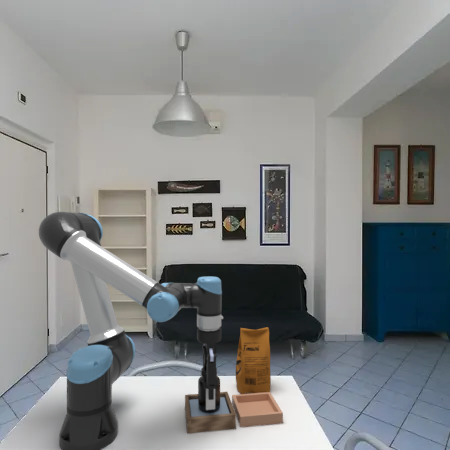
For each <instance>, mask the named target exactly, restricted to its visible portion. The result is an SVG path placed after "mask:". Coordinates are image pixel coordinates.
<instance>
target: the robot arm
mask: <svg viewBox="0 0 450 450" xmlns="http://www.w3.org/2000/svg"><path fill="white" fill-rule="evenodd" d="M103 233H104V232H103V227H102V224H101V222H100V221H99V220H98V219H97V218H96V217H95V216H93V215H90V214H88V213H84V212H70V211H68V212H66V211H55V212H53V213H49V215H46V217H44V218H43V220H42V221H41V222H40V224H39V228H38V237H39V240H40V242H41V243H42V245H43V246H44V247H45V248H46V249H47V250H48V251H50V252H51V253H52V254H54V255H55V256H56V257H58V258H60V259H61V260H64V261H68V262H70V265H71V268H72V272H73V275H74V279H75V283H76V287H77V290H78V293H79V294H78V295H79V297H80V302H81V305H82V308H83V312H84V315H85V320H86V323H87V327H88V331H89V334H90V336H89V338H88V340H87V341H86V344H87V346H86V347H81V348H79V349H77V350H76V351H74V352H73V353H72V354H70V356H69V358H68V360H67V366H66V367H67V368H66V372H65V373H66V414H65V417H64V420H63V422H62V425H61V429H60V431H59V438H58V440H59V447H60V448H61V450H101V449H103V448H105V447H106V446H108V445H109V444H111V443H112V442H113V441H114V440H115V439H116V437H117V435H118V432H119V424H118V423H119V421H118V419H117V418H118V417H117V416H116V413H115V410H114V407H113V403H112V401H113V400H112V395H113V394H112V392H113V391H112V390H113V387H112V386H113V384H114V383H115V382H116V381H117V380H118V379H119V378H120V377H121V376H122V375H123V374H124V373H126V372H127V371H128V370H129V368H130V367H131V366H132V364H133V362H134V360H135V357H136V351H137V350H136V349H137V348H136V345H135V342H134V341H133V339H132V338H131V337H130V336H128V335H127V334H126V331H125V328H124V327H122V326H120V325H119V324H118V320H117V317H116V313H115V310H114V306H113V302H112V300H111V299H112V298H111V296H110V291H109V287H108V285H109V286H111V287H112V288H114V289H115V290H117V291H119V292H120V293H121V294H123V295H124V296H126V297H128V298H129V299H131V300H132V301H134V302H136V304H139V305H140V306H141V307H143V308H144V309H146V311H147V315H148V316H149V318H150V319H152V321H155V322H157V323H164V322H165V323H166V322H167V321H170V320H171V319H173V318H174V317H175V316H176V315H177V314H178V312H179V311H180V310H182V309H196V311H197V312H196V327H197V330H196V340H197V341H198V342H199V343H200V344H202V346H201V347H202V349H201V350H202V367H204V366H206V378H207V386H204V389H206V410H212V409H215V389H216V387H217V386H216V368H217V357H218V355H217V347H216V343H219V342H221V340H222V320H224V316H223V315H222V306H223V305H222V304H223V303H222V302H223V301H222V300H223V297H222V296H223V290H222V280H221V279H220V278H219V277H218V276H209V275H208V276H199V277H198V278H197V281H196V282H195V283H190V282H188V283H186V282H174V281H173V282H171V281H170V282H163V283H159V282H158V281H157V280H155V279H153V277H150V276H148V275H147V274H145V273H144V272H142V271H141V270H139V268H136V267H135V266H133V265H131V264H130V263H129V262H126V261H125V260H123V259H122V258H120V257H119V256H117V255H115V254H114V253H112V252H111V251H110V250H108V249H106V248H104V247H103V246H102V244H101V240H102V238H103V237H104V236H103V235H104V234H103Z"/></svg>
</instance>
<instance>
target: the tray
mask: <svg viewBox="0 0 450 450" xmlns="http://www.w3.org/2000/svg"><path fill="white" fill-rule="evenodd" d="M231 403H232V406H233V409H234V411H235V414H236V420H237V421H238V423H239V424H238V425H239V427H240V428H245V427H246V428H247V427H248V428H249V427H256V426H267V425H279V424H283V423H284V412H283V411H282V409H281V407H280V406H279V404H278V403H277V401H276V400H275V398H274V396H273V394H272V393H271V391H270V392H264V393H247V394H240V393H239V394H232V395H231Z"/></svg>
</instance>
